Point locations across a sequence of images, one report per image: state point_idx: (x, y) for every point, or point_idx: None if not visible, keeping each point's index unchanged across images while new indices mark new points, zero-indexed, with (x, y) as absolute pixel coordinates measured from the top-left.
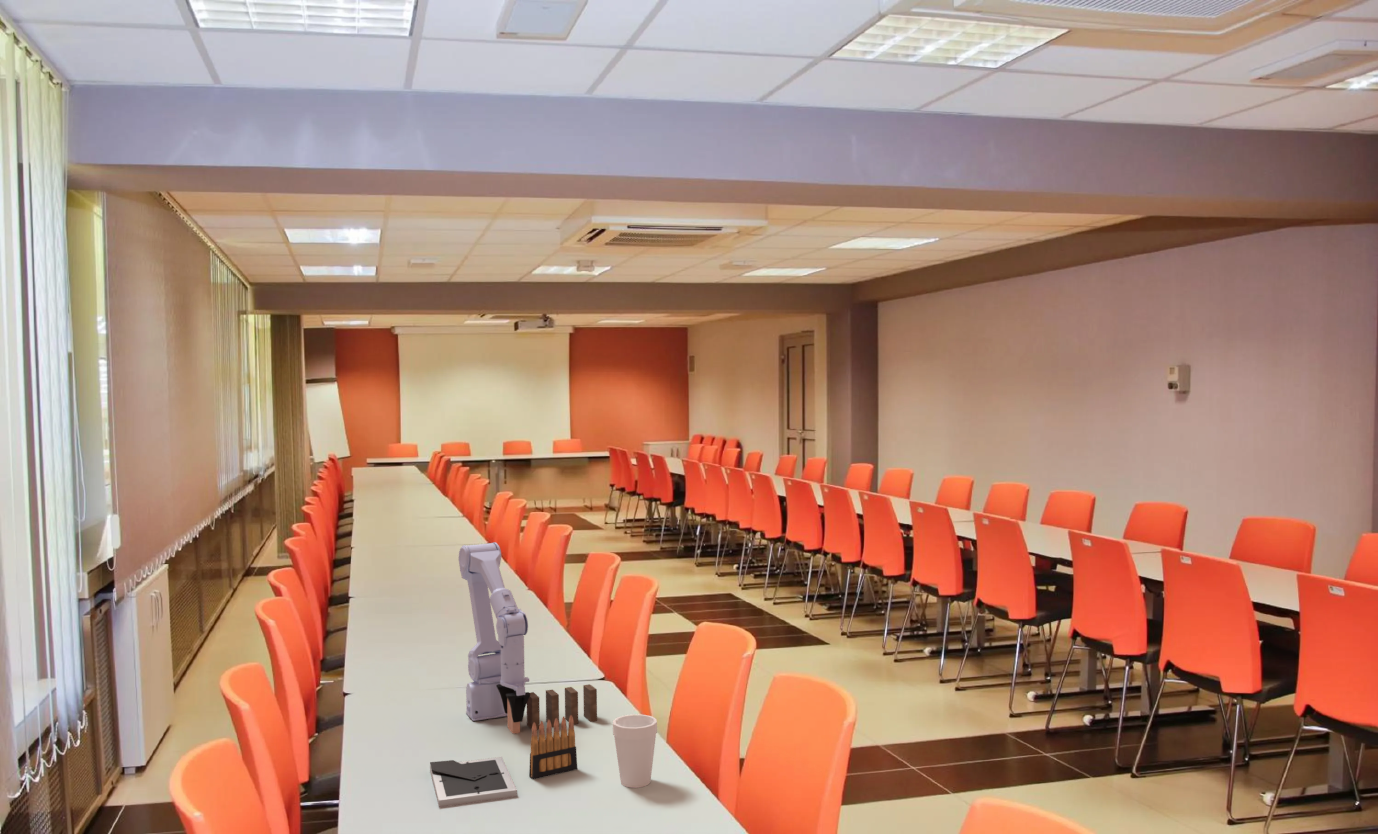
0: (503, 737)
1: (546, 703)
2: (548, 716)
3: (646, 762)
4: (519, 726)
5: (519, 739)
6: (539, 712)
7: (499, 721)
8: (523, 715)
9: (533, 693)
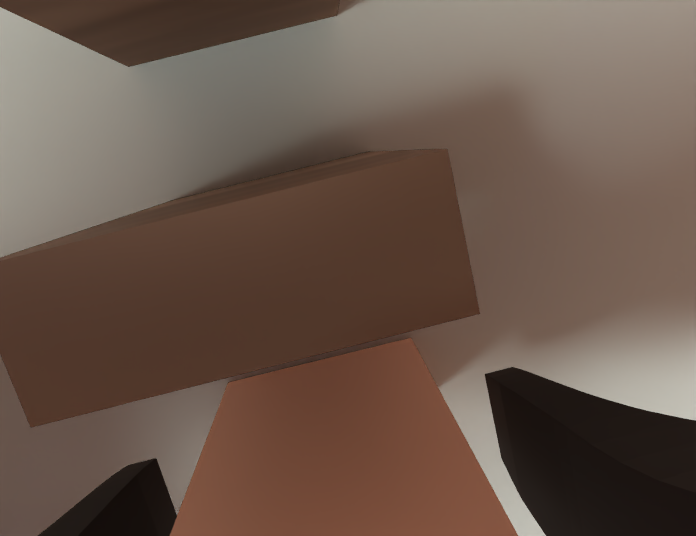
0: (501, 470)
1: (51, 7)
2: (194, 27)
3: None
4: (421, 363)
5: (594, 345)
6: (391, 151)
7: (49, 510)
8: (541, 377)
9: (83, 271)
